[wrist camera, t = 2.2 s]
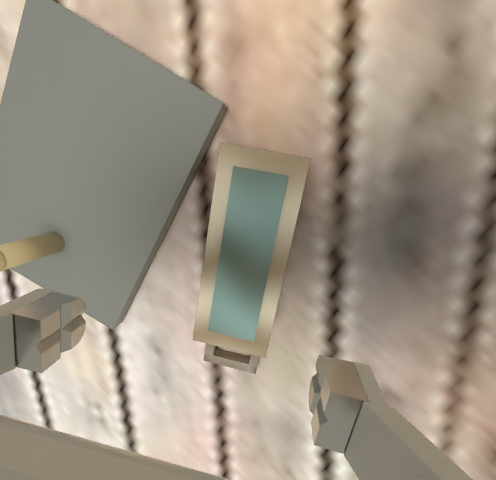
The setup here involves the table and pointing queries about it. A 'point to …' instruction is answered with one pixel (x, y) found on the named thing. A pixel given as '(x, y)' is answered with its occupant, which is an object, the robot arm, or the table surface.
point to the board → (92, 158)
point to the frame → (247, 251)
